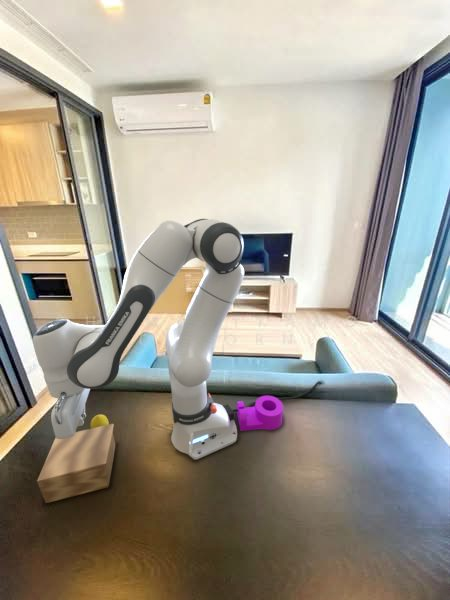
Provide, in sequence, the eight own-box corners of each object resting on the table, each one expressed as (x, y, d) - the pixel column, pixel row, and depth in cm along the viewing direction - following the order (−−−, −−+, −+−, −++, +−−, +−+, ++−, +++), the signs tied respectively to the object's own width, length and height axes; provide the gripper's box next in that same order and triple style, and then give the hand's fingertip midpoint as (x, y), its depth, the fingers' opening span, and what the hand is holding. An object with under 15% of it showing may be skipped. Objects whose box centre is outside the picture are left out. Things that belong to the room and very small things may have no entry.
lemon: (103, 441, 83) (99, 423, 81) (89, 439, 84) (84, 421, 82) (113, 428, 89) (109, 410, 86) (100, 426, 90) (95, 408, 87)
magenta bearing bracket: (277, 407, 97) (278, 394, 95) (285, 428, 88) (287, 414, 86) (236, 410, 96) (236, 397, 93) (240, 432, 86) (241, 418, 84)
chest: (115, 445, 82) (111, 427, 80) (108, 487, 70) (103, 467, 67) (62, 457, 79) (56, 438, 76) (45, 503, 66) (37, 483, 64)
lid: (113, 425, 80) (113, 423, 79) (106, 465, 67) (105, 463, 67) (56, 438, 76) (55, 436, 76) (37, 483, 63) (36, 481, 63)
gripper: (69, 407, 55) (84, 452, 60) (90, 357, 73) (101, 394, 78) (37, 414, 53) (55, 459, 58) (67, 361, 72) (79, 398, 77)
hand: (81, 421), depth 69 cm, fingers closed
